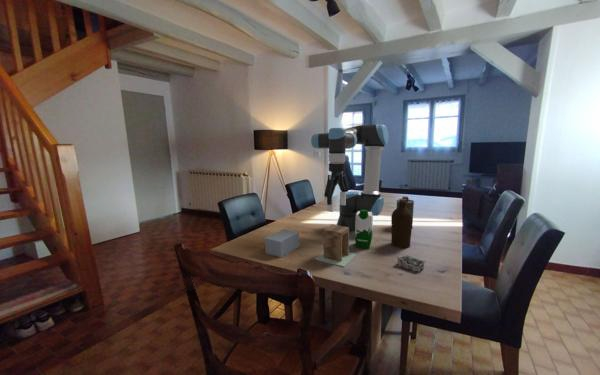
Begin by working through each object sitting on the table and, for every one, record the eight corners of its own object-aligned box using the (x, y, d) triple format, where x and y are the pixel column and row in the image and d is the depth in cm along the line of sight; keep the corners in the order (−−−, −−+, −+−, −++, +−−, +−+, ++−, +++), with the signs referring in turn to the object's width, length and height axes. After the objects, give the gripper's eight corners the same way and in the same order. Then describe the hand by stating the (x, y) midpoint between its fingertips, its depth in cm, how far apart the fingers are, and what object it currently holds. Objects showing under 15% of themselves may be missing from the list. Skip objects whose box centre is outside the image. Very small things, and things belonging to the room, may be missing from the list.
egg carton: (394, 265, 122) (395, 256, 121) (404, 260, 126) (405, 252, 125) (416, 274, 113) (417, 264, 112) (426, 268, 117) (427, 260, 117)
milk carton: (353, 247, 141) (354, 210, 137) (356, 241, 149) (356, 206, 146) (371, 249, 138) (372, 212, 134) (372, 243, 146) (373, 207, 143)
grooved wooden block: (310, 240, 131) (332, 221, 123) (319, 235, 138) (340, 216, 130) (332, 268, 127) (355, 250, 119) (340, 261, 134) (362, 244, 126)
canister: (414, 230, 166) (416, 198, 162) (396, 229, 168) (398, 198, 165) (410, 225, 176) (412, 195, 173) (394, 224, 179) (395, 194, 175)
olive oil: (414, 248, 139) (417, 201, 134) (394, 248, 139) (396, 201, 134) (406, 240, 149) (409, 196, 145) (387, 241, 149) (389, 197, 145)
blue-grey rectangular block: (265, 253, 136) (264, 238, 135) (284, 242, 149) (283, 229, 148) (281, 257, 131) (280, 241, 129) (299, 246, 144) (299, 232, 142)
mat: (329, 248, 140) (329, 247, 140) (356, 255, 132) (356, 254, 132) (315, 259, 128) (315, 258, 128) (344, 267, 120) (344, 266, 119)
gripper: (340, 160, 134) (340, 201, 138) (316, 164, 114) (316, 213, 117) (355, 160, 130) (354, 203, 134) (332, 165, 109) (332, 215, 113)
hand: (336, 208), depth 126 cm, fingers open, 13 cm apart
